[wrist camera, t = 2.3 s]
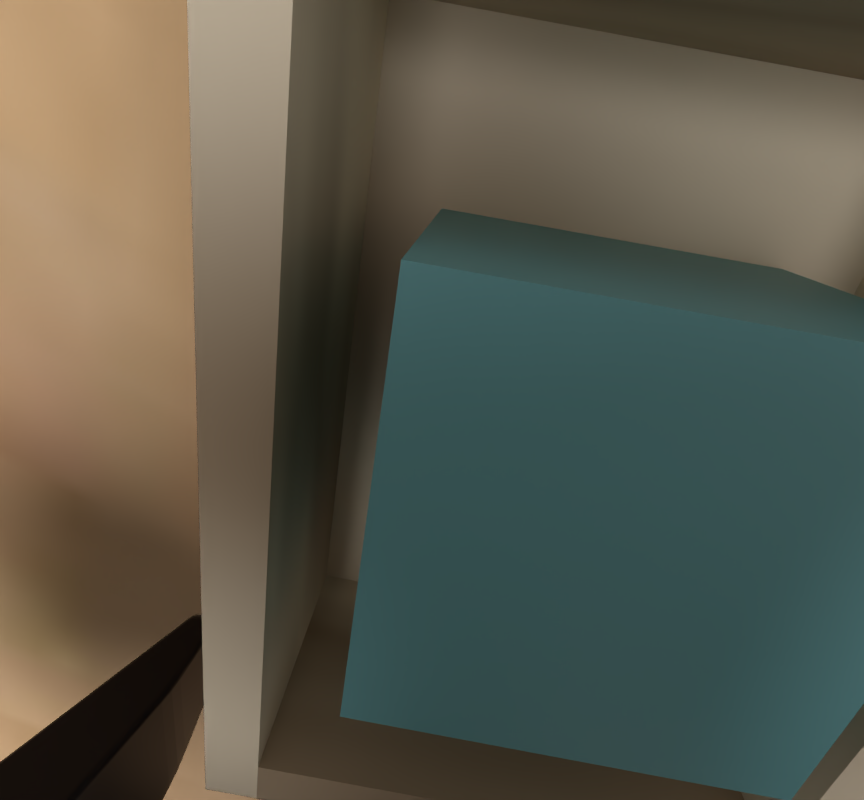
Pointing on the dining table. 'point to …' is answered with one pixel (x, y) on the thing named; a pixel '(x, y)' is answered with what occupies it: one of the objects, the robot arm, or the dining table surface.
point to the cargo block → (615, 507)
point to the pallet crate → (377, 288)
